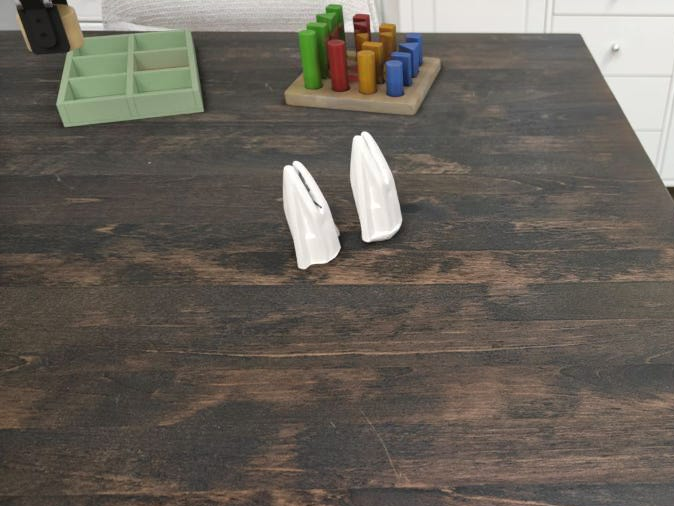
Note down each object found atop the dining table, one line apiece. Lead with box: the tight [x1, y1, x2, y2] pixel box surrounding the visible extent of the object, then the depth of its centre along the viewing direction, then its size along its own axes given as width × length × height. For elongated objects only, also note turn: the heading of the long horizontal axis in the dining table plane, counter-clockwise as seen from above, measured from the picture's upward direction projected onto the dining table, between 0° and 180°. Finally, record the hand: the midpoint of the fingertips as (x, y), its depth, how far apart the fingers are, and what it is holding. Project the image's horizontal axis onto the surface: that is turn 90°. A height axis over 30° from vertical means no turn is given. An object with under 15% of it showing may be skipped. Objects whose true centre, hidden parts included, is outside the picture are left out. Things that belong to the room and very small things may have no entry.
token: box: [15, 4, 85, 55], centre depth 70 cm, size 5×5×3 cm
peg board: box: [283, 3, 442, 116], centre depth 100 cm, size 18×17×9 cm
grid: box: [55, 28, 205, 128], centre depth 100 cm, size 16×24×3 cm
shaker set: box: [282, 131, 403, 270], centre depth 69 cm, size 12×4×11 cm, turn 121°
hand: (55, 40), depth 71 cm, fingers closed on token, 5 cm apart
